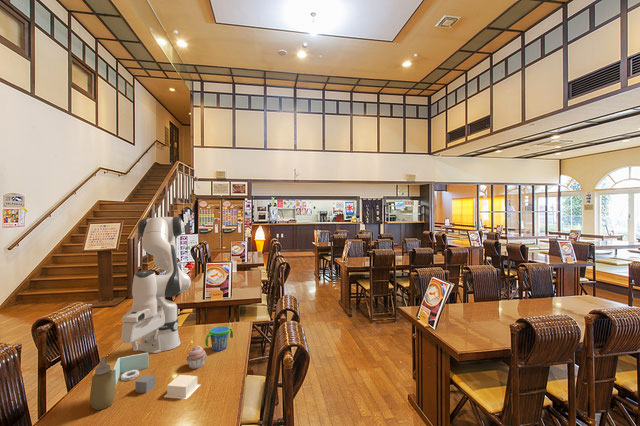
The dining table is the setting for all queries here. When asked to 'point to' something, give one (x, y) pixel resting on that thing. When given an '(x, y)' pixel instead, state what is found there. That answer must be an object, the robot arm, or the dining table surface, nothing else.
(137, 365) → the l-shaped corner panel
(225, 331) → the snack cup
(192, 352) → the cupcake
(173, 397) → the light grey flat slab
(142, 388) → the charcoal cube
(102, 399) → the squeeze bottle
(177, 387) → the cream base block
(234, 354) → the dining table surface
